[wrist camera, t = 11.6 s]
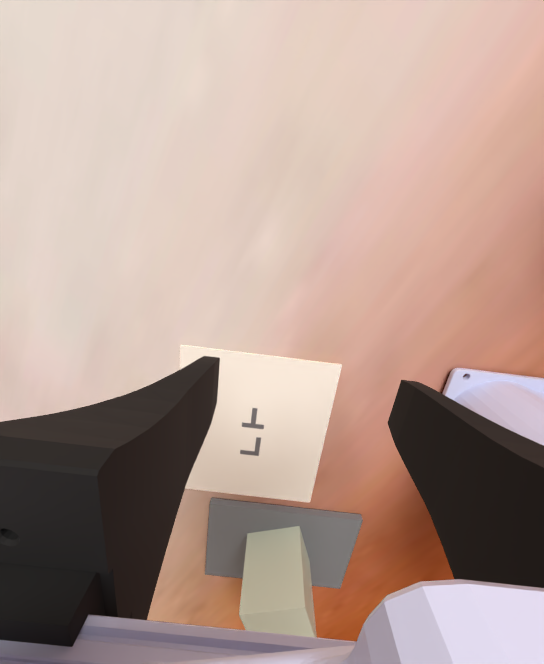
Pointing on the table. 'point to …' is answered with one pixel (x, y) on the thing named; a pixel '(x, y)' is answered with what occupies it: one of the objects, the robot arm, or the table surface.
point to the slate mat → (248, 517)
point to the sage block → (277, 584)
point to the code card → (264, 424)
